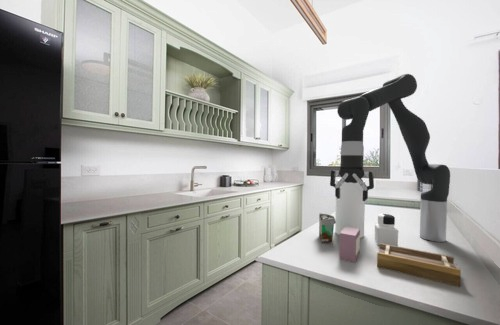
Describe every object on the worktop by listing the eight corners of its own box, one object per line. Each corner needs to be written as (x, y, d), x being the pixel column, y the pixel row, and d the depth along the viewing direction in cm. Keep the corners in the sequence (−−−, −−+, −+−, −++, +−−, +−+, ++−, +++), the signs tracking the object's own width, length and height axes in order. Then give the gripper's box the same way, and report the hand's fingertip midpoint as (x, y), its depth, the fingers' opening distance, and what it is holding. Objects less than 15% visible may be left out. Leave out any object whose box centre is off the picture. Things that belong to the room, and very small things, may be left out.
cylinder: (360, 230, 112) (361, 179, 112) (367, 239, 100) (368, 182, 100) (333, 228, 115) (334, 179, 115) (336, 236, 103) (337, 181, 103)
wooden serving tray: (379, 255, 83) (380, 243, 83) (452, 270, 72) (453, 256, 72) (377, 266, 74) (377, 252, 74) (460, 286, 63) (460, 270, 63)
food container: (337, 245, 92) (338, 220, 92) (321, 244, 93) (322, 219, 93) (332, 235, 104) (333, 213, 104) (318, 234, 105) (319, 213, 105)
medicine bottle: (393, 241, 98) (393, 213, 97) (398, 247, 91) (398, 217, 91) (374, 239, 100) (375, 212, 100) (377, 245, 93) (378, 215, 93)
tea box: (345, 249, 88) (345, 226, 88) (360, 252, 85) (360, 228, 85) (339, 258, 80) (339, 232, 80) (355, 262, 77) (356, 235, 77)
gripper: (375, 155, 82) (374, 200, 82) (334, 154, 89) (333, 196, 90) (373, 154, 75) (372, 203, 75) (328, 154, 83) (327, 198, 83)
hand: (350, 199), depth 82 cm, fingers open, 8 cm apart
